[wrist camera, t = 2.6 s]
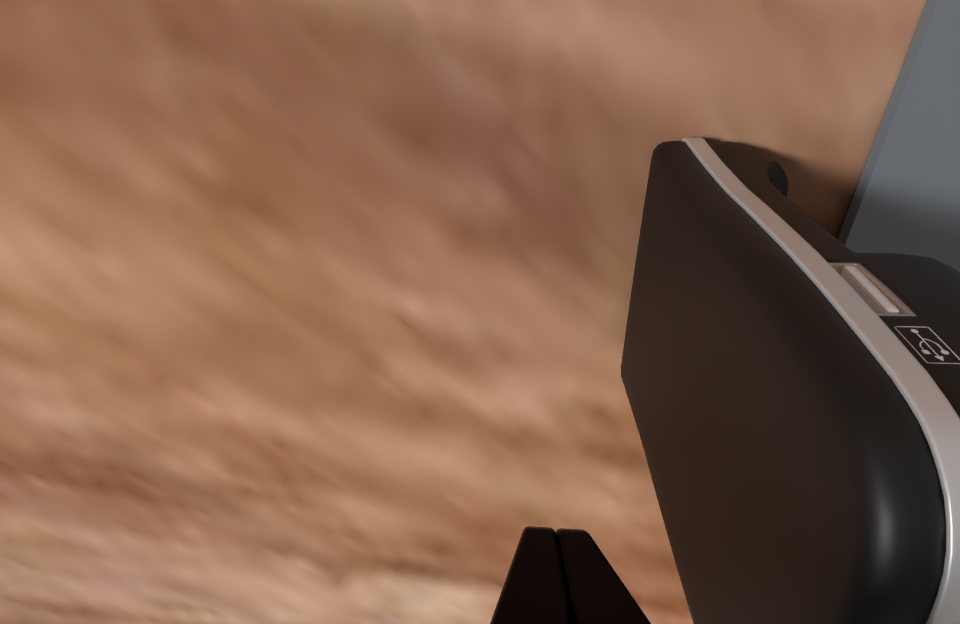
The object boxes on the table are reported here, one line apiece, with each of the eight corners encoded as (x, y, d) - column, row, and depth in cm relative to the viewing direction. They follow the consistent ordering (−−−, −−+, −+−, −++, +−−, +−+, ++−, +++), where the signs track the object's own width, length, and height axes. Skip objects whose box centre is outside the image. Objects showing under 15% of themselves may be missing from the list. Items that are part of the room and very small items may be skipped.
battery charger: (753, 380, 20) (1031, 867, 10) (614, 378, 20) (756, 867, 10) (818, 128, 16) (1353, 496, 6) (650, 125, 16) (928, 493, 6)
